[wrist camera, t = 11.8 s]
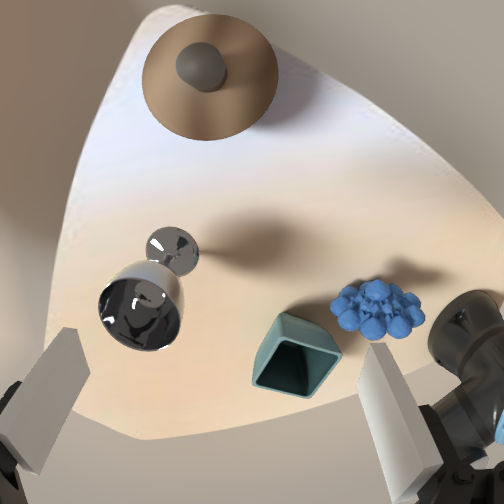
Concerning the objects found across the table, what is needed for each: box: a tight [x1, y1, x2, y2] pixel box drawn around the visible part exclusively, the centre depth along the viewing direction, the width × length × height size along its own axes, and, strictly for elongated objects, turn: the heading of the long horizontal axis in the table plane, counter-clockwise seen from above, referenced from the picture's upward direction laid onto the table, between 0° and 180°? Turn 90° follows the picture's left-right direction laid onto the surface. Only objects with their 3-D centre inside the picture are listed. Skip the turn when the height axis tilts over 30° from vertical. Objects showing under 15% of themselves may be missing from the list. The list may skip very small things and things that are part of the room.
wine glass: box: [98, 227, 198, 352], centre depth 34 cm, size 8×8×15 cm
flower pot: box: [252, 313, 343, 399], centre depth 42 cm, size 9×9×9 cm
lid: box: [142, 14, 278, 141], centre depth 24 cm, size 13×13×7 cm
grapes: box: [330, 279, 425, 340], centre depth 37 cm, size 12×7×12 cm, turn 100°
